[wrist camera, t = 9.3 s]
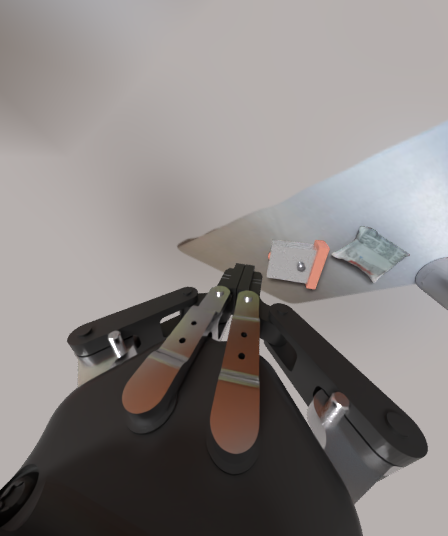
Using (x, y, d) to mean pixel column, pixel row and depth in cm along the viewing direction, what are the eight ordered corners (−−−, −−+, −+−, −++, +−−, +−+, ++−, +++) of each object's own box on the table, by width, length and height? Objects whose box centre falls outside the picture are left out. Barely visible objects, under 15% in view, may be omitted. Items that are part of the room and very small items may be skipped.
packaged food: (368, 277, 42) (378, 288, 38) (328, 251, 41) (334, 259, 37) (404, 250, 37) (420, 259, 33) (360, 221, 37) (371, 226, 33)
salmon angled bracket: (324, 240, 40) (329, 248, 36) (311, 278, 46) (315, 289, 42) (271, 235, 43) (271, 241, 39) (265, 271, 49) (264, 281, 44)
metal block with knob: (313, 243, 42) (318, 252, 37) (304, 274, 46) (307, 285, 41) (272, 239, 44) (272, 246, 39) (267, 269, 48) (266, 279, 44)
